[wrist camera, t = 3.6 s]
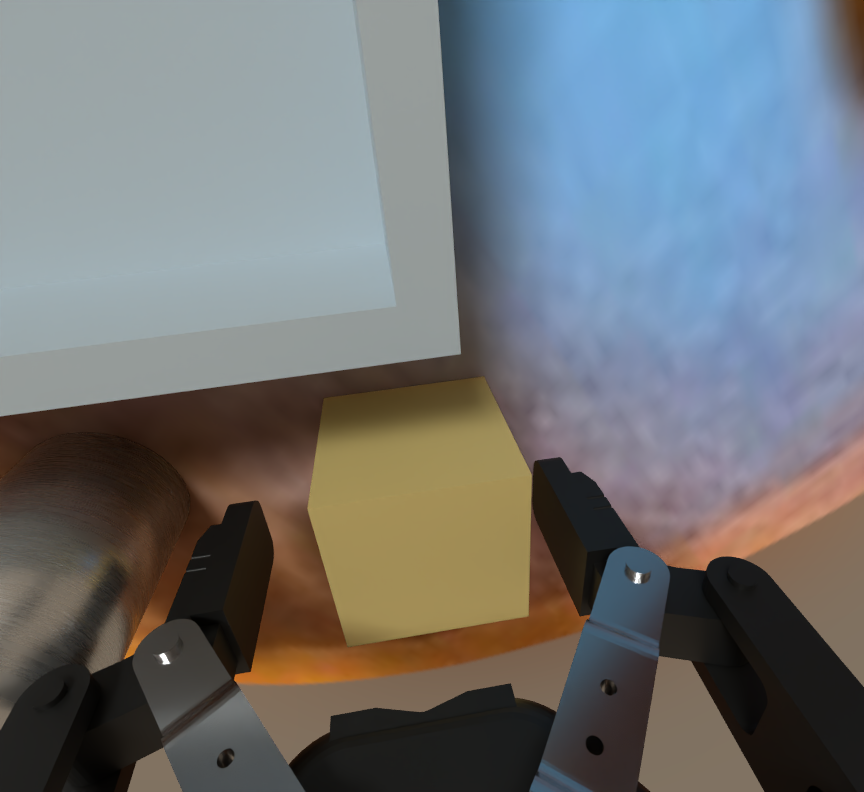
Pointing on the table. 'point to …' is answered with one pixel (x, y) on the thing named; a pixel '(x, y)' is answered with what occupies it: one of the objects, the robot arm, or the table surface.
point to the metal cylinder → (81, 553)
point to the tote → (218, 194)
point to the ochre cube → (421, 510)
